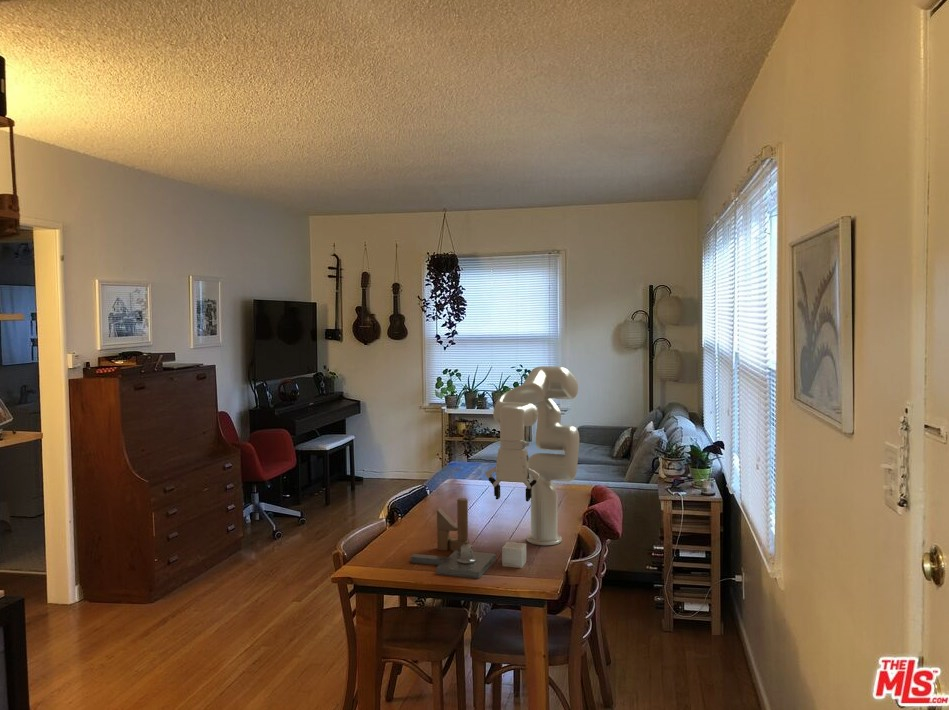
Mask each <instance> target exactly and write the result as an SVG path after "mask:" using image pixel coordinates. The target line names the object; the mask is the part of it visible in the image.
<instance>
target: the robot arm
mask: <svg viewBox="0 0 949 710" xmlns="http://www.w3.org/2000/svg"><path fill="white" fill-rule="evenodd" d="M578 392H579V383H578V380H577V379H576V377H575V375H574V374H573V373H572V372H571V371H570V370H569V369H567V368H565V367H564V366H547V365H546V366H545V365H544V366H543V365H541V366H537V367H534V368H533V369H532V370H531V371H530V372H529V374H528V375H527V376H526V379H525V380H524V382H523V383H522V384H521V385H519V386H515V387H514V388H512V389H510V390H507V391H505V392H504V393H503V394H502V395H501V396H500V397H499V398H498V399H497V402H496V403H495V405H494V408H493V412H492V413H493V420H494V421H495V423H497V424H498V425H499V432H500V434H499V435H500V437H499V439H500V440H499V441H500V442H499V444H500V448H498V451H497V455H496V465H495V467H493V468H490V469H488V470H486V471H485V475H486V476H487V477H486V478H487V479H488V482H489V483H490V484H491V485H492V487H493V496H494V497H495V500H499V499H500V498H501V485H500V483H501V482H508V483H509V482H510V483H523V484H524V485H525V487H526V488H525V501H526V502H529V501H530V533H529V534H528V535H526V541H527V542H528V543H530V544H532V545H537V546H554V545H558V544H560V543H561V542H562V541H563V539H562V536H561V534H558V492H557V488H556V487H555V485H554V483H553V482H566V483H567V482H568V483H569V482H573V481H574V480H575V478H576V476H577V471H578V464H579V463H578V462H579V452H580V451H579V450H580V449H579V448H580V433H579V430H578V428H577V427H575V426H573V425H567V424H561V421H562V411H561V410H560V407H559V406H558V405H557V404H556V403H557V402H555V401H554V400H572V399H574V398H576V396H577V395H578ZM536 422H537V423H536ZM535 424H536V430H535V446H536V447H537V448H538V449H539V450H543V451H550V452H563V453H564V454H560V453H550V452H549V453H547V452H538V453H534V454H532V455H531V456H530V457H529V453H528V449H527V448H526V447H530V442H529V441H526V439H525V427H530V426H531V427H532V426H533V425H535ZM493 473H495V477H493V475H492V474H493ZM495 478H496V479H495ZM552 481H553V482H552Z"/></svg>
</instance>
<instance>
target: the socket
mask: <svg viewBox="0 0 949 710" xmlns="http://www.w3.org/2000/svg"><path fill="white" fill-rule="evenodd" d="M501 551H502V552H501V553H502V554H501V557H502V558H501V560H502V561H501V563H502V565H501V566H502V567H507V568H516V569H517V568H518V569H522V568H523V567H524V566H525V564H526V563H527V543H525V542H523V543H522V542H515V541H514V542H513V541H511V542H510V541H507V542H506V543H505V544H504V545H503V546H502V548H501Z"/></svg>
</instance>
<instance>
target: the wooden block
mask: <svg viewBox="0 0 949 710" xmlns="http://www.w3.org/2000/svg"><path fill="white" fill-rule="evenodd" d="M468 501H469V500H468V498H466V497H460V498H457V499H456V504H457V505H456V508H457V509H456V510H457V511H456V513H457V516H456V519H457V522H456V523H457V524H456V523H455V522H454V520H453V519H452V518H451V517H450V516H449V515H448V514H447V513H446V512H445V511H444V510H443V509H442V507H438V508H437V509H436V522H437V523H436V529H437V530H436V532H437V533H436V535H437V538H436V540H437V544H436V545H437V546H436V547H437V548H436V549H437V551H442V552H443V551H448V550H449V551H452V552H454V551H455V550H460V551H461V546H462V545H463V544H468V545H470V538H469V528H468V527H469V524H468V523H469V517H468V516H469V515H468V513H469V511H468V509H469V508H468ZM456 531H457V537H450V532H456Z"/></svg>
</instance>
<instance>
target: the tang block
mask: <svg viewBox="0 0 949 710" xmlns="http://www.w3.org/2000/svg"><path fill="white" fill-rule="evenodd" d="M473 548H474V547H473V544H469V545H468V544H463V545H462V546H461V551H460V550H455V551H452V553H451V554H449V556H441V555H440V556H439V555H432V554H431V555H430V554H420V553H414V554H412V555H410V563H412V564H418V565H419V564H421V565H422V564H423V565H431V566H437V567H436V571H435V572H436V575H443V576H450V577H452V576H453V577H461V578H471V579H479V580H480V578H481V577H482V576H483V575H484V574H485V573H486V572H487V570H488V569H489V568H490V567H491V566H492V564H493V563H494V562H495V561H496V555H497V554H496V553H489V552H482V551H481V552H480V551H479V552H478V551H473Z"/></svg>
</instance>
